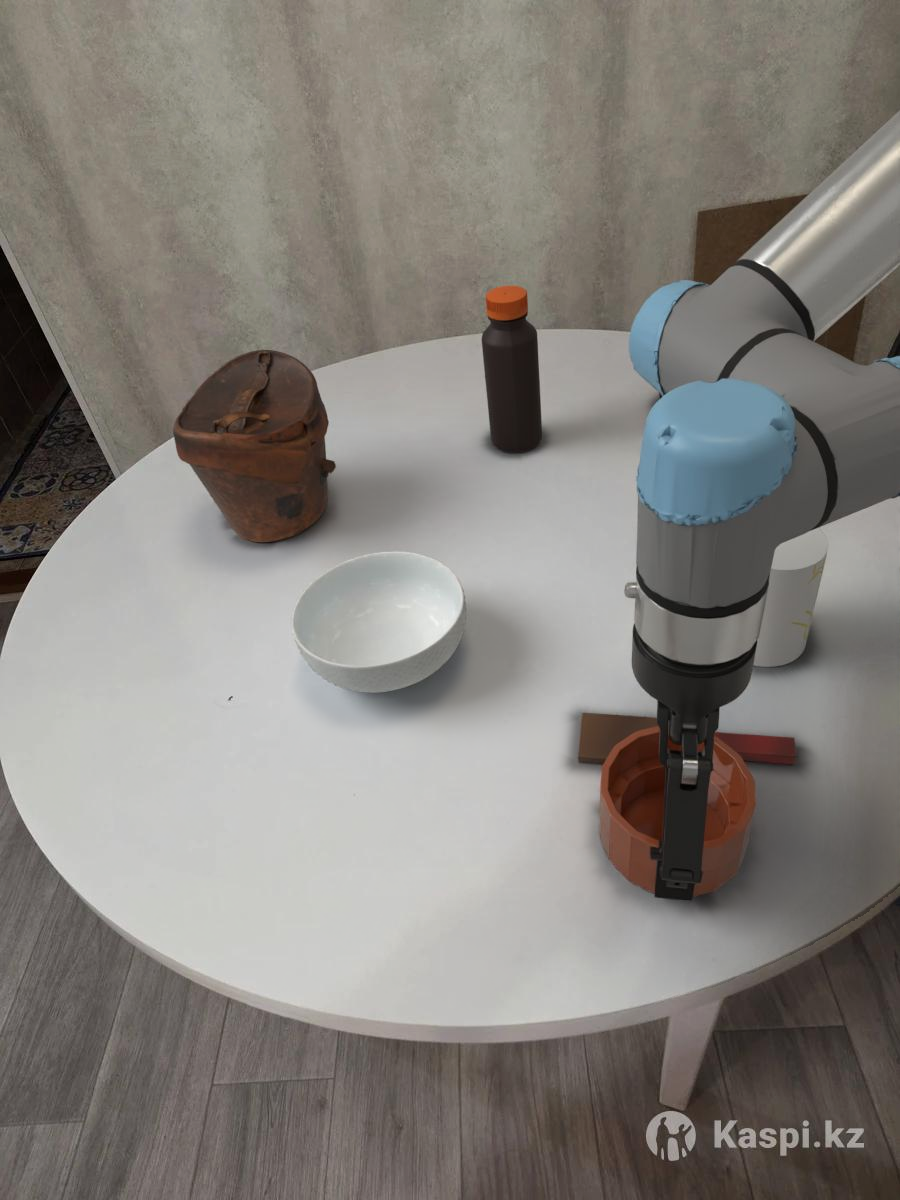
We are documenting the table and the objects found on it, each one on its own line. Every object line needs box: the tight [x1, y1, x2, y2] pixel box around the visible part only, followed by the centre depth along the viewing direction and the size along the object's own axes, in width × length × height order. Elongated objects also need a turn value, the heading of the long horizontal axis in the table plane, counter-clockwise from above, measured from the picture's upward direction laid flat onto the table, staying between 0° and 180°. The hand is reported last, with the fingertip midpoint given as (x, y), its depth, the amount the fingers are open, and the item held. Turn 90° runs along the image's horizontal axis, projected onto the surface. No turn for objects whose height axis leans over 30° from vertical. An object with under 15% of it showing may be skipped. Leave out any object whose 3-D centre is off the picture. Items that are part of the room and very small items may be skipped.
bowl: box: [599, 726, 757, 898], centre depth 67 cm, size 11×11×7 cm
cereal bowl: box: [291, 550, 467, 694], centre depth 86 cm, size 17×17×7 cm
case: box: [172, 349, 337, 543], centre depth 103 cm, size 18×20×18 cm
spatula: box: [577, 712, 797, 765], centre depth 75 cm, size 18×5×1 cm, turn 79°
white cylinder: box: [753, 527, 830, 668], centre depth 80 cm, size 8×8×12 cm
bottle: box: [481, 285, 543, 454], centre depth 108 cm, size 7×7×20 cm
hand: (673, 825), depth 68 cm, fingers closed on bowl, 11 cm apart
